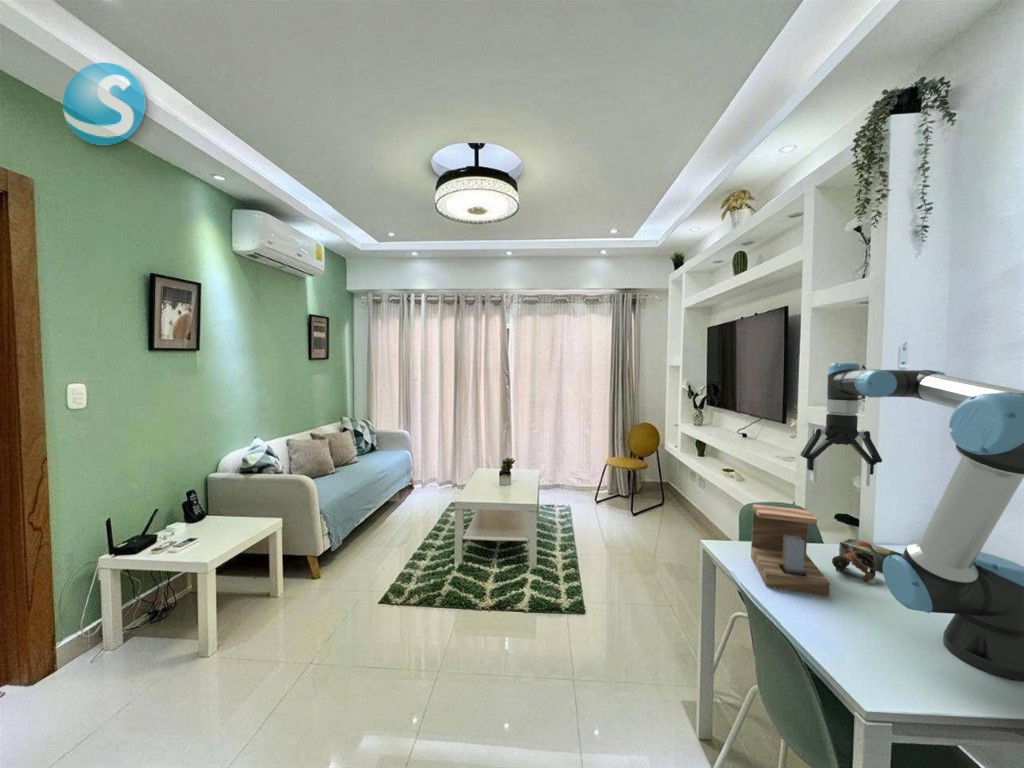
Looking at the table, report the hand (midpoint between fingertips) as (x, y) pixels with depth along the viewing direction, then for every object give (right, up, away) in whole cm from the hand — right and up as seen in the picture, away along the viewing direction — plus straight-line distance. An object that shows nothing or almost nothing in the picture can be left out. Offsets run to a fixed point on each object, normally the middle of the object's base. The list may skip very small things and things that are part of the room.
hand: (838, 482), depth 128 cm
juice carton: (+23, -31, +13) cm, 41 cm away
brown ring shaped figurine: (+9, -31, +6) cm, 33 cm away
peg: (-14, -31, 0) cm, 34 cm away
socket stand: (-13, -31, +5) cm, 33 cm away
